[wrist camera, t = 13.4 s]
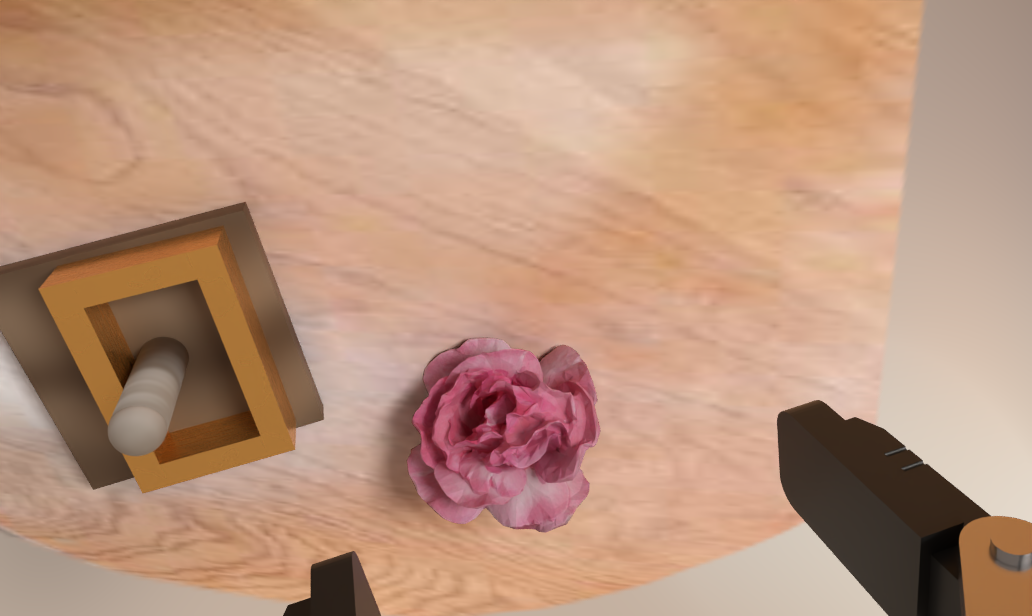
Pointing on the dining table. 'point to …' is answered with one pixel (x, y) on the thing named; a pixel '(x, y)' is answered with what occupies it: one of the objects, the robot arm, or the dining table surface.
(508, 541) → the dining table surface
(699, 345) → the dining table surface
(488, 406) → the flower
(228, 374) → the keeper base
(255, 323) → the orange rectangular frame
